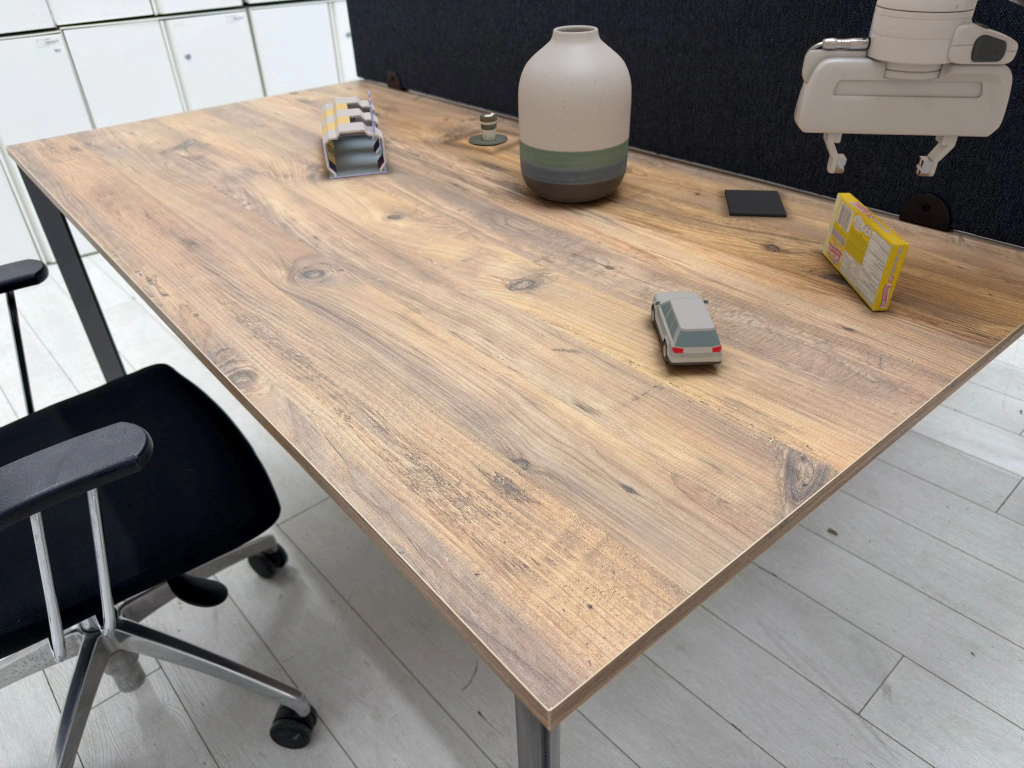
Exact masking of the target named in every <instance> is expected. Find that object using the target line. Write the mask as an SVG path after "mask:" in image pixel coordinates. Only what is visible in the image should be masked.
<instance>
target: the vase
mask: <svg viewBox="0 0 1024 768" xmlns="http://www.w3.org/2000/svg"><path fill="white" fill-rule="evenodd" d="M517 92H518V93H517V105H518V107H517V109H518V111H517V112H518V138H519V139H518V144H519V163H520V164H519V165H520V166H519V167H520V172H521V176H522V178H523V181H524V183H525V185H526V186H527V188H528V189H529V191H531V192H532V193H533V194H534V195H536V196H538V197H540V198H542V199H545V200H548V201H553V202H557V203H558V202H559V203H568V204H569V203H573V204H575V203H586V202H593V201H597V200H600V199H603V198H606V197H607V196H610V195H611V194H613V193H614V192H615V191H616V190H617V189H618V188H619V187H620V185H621V183H622V182H623V180H624V177H625V174H626V172H627V166H628V157H629V143H630V142H629V141H630V126H631V124H630V123H631V114H632V113H631V111H632V79H631V75H630V72H629V69H628V67H627V65H626V62H625V61H624V59H623V58H622V57H621V55H619V54H618V53H617V52H616V51H615V50H613V48H612V47H610V46H608V44H607V43H605V42H604V41H603V40H602V39H601V37H600V33H599V28H598V27H596V26H593V25H584V24H583V25H582V24H581V25H580V24H579V25H578V24H577V25H576V24H572V25H562V26H557V27H554V29H553V30H552V35H551V38H550V40H549V41H548V42H547V43H546V44H545V45H544V46H542V48H540V49H539V50H537V52H535V53H534V54H533V55H532V56H531V57H530V58H529V59H528V61H527V62H526V63H525V65H524V67H523V70H522V72H521V75H520V78H519V82H518V91H517Z"/></svg>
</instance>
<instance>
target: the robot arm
mask: <svg viewBox="0 0 1024 768" xmlns="http://www.w3.org/2000/svg"><path fill="white" fill-rule="evenodd" d="M1008 1H1009V2H1011V3H1015V4H1017V5H1020V6H1021V7H1023V8H1024V0H1008ZM978 2H979V0H877V1H876V3H875V8H874V12H873V16H872V19H871V25H870V29H869V33H868V37H851V38H837V37H828V38H823V39H822V41H821V42H817V43H815V44H813V45H812V46H811V47H810V48H809V49H807V51H806V53H805V55H804V58H803V61H802V62H803V63H802V68H801V78H802V80H803V83H802V86H801V89H800V91H799V95H798V98H797V101H796V105H795V109H794V113H793V118H794V123H795V124H796V126H797V127H798V128H799V129H800V130H801V131H802V132H803V133H807V134H808V133H811V134H813V133H814V134H823V137H822V138H823V141H824V143H825V147H826V149H827V152H828V154H829V156H828V159H827V160H828V161H827V164H826V165H827V166H826V170H827V172H828V174H844V172H845V166H846V164H847V160H848V158H847V157H846V155H845V154H844V153H838V151H837V148H836V144H840V143H841V140H842V136H843V134H850V135H852V134H854V135H857V134H858V135H860V134H861V135H889V136H890V135H892V136H893V135H896V136H897V135H898V136H899V135H900V136H933V137H935V138H934V139H935V140H936V142H937V144H936V145H935V146H934V147H933V148H932V150H930V152H929V153H928V154H927V155H919V156H918V159H917V164H916V166H915V172H914V173H915V174H916V175H917V176H918V177H934V175H935V173H936V170H937V167H938V164H939V162H941V160H942V159H943V158H945V156H947V155H948V154H949V153H950V152H951V150H953V149H954V148H955V147H956V143H957V140H958V137H976V138H977V137H981V138H982V137H983V138H987V137H989V136H990V135H992V134H993V133H994V132H995V131H997V130H998V129H999V128H1000V126H1001V124H1002V122H1003V120H1004V117H1005V113H1006V110H1007V106H1008V103H1009V99H1010V95H1011V91H1012V87H1013V86H1012V84H1013V74H1012V71H1011V68H1010V67H1009V66H1007V65H1006V64H1009V63H1011V62H1012V61H1013V60H1014V59H1015V56H1016V54H1017V52H1018V49H1019V43H1018V42H1017V40H1015V39H1013V38H1012V37H1010V36H1008V35H1006V34H1005V33H1002V32H1000V31H997V30H994V29H991V28H990V27H989V26H988V25H985V24H984V23H981V22H980V23H979V22H977V21H975V22H973V20H972V19H973V16H974V13H975V10H976V6H977V3H978ZM819 48H820V49H819Z"/></svg>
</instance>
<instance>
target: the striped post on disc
mask: <svg viewBox="0 0 1024 768" xmlns="http://www.w3.org/2000/svg"><path fill="white" fill-rule="evenodd" d="M479 121H480V130H481V134H476V135H473V136H471V137H469V138H468V142H469V143H471V144H472V145H477V146H497V145H502V144H505V143H506V142H508V140H509V137H508V136H506V135H505V134H501V133H496V131H497V121H498V117H497V114H496V113H494V112H485V113H484V112H483V113H481V114H480V115H479Z"/></svg>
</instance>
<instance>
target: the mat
mask: <svg viewBox="0 0 1024 768" xmlns="http://www.w3.org/2000/svg"><path fill="white" fill-rule="evenodd" d="M724 194H725V195H724V196H725V198H726V199H725V200H726V203H727V209H728V212H729V216H738V217H739V216H740V217H769V218H771V217H772V218H775V217H776V218H787V216H788V214H787V211H786V208H785V207H784V203H783V201H782V199H781V196H780V194H779V191H778V190H766V189H765V190H762V189H761V190H758V189H757V190H756V189H724Z"/></svg>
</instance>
